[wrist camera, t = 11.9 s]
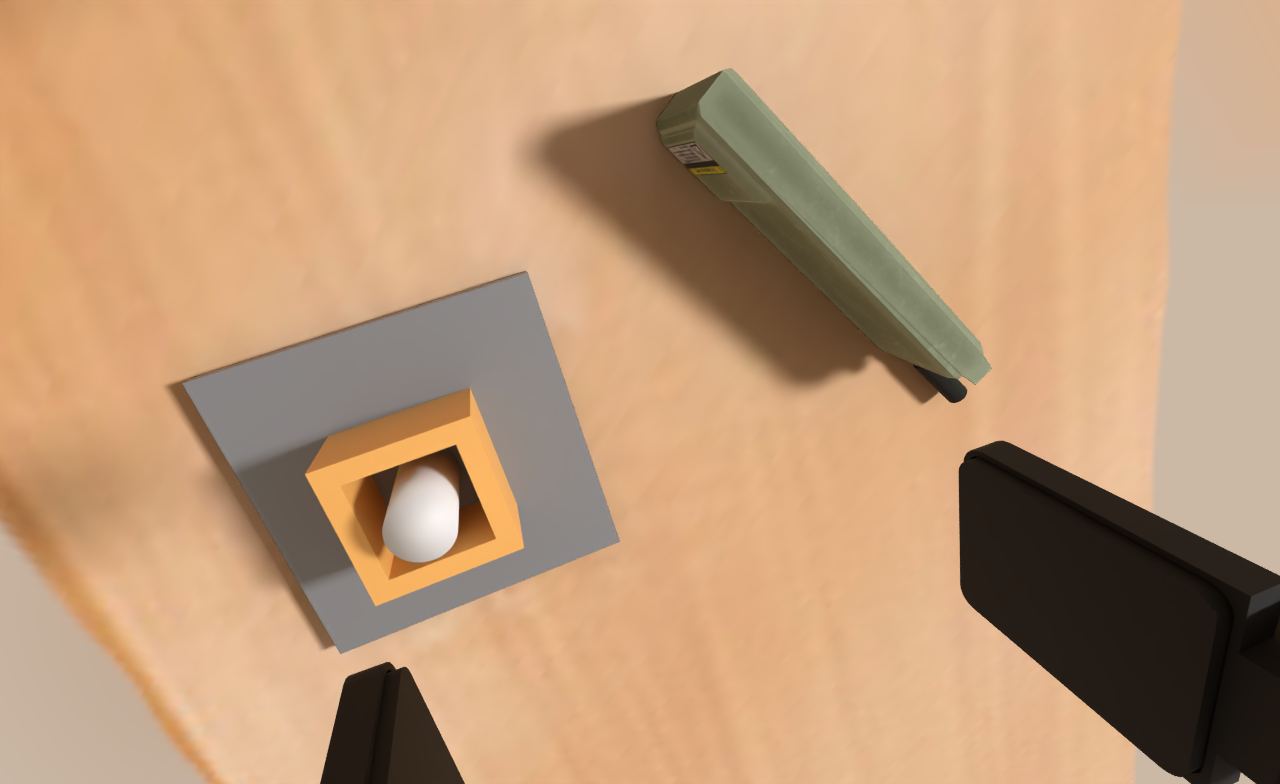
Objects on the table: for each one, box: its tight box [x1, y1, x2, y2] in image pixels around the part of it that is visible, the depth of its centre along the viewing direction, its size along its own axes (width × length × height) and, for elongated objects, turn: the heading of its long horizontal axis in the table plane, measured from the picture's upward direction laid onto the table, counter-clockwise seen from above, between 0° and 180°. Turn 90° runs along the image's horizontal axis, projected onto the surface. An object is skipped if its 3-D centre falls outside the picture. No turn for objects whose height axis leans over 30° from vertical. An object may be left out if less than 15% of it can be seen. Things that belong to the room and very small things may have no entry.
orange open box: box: [305, 388, 524, 606], centre depth 29 cm, size 7×7×4 cm
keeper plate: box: [182, 271, 620, 654], centre depth 29 cm, size 16×16×7 cm
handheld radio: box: [656, 69, 992, 403], centre depth 32 cm, size 7×3×25 cm
